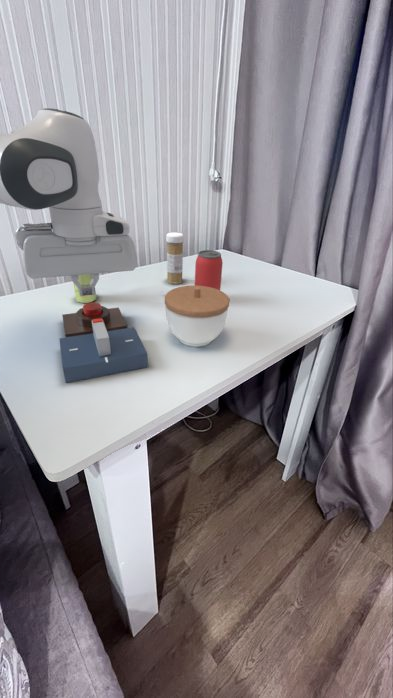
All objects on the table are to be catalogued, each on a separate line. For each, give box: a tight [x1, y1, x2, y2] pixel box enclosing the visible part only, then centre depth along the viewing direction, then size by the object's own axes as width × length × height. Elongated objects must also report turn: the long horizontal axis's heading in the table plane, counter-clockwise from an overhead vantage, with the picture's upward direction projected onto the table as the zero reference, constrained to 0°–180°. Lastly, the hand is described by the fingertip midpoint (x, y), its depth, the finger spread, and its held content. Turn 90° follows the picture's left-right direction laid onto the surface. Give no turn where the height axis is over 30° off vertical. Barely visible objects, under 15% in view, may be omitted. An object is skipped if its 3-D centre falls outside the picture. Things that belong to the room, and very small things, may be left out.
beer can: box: [194, 249, 224, 291], centre depth 82 cm, size 7×7×12 cm
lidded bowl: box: [164, 285, 230, 348], centre depth 66 cm, size 13×13×11 cm
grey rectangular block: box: [92, 318, 111, 356], centre depth 59 cm, size 7×2×4 cm, turn 22°
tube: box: [73, 274, 98, 304], centre depth 78 cm, size 6×5×20 cm
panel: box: [59, 326, 149, 384], centre depth 60 cm, size 14×11×3 cm
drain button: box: [82, 302, 102, 317], centre depth 68 cm, size 4×4×2 cm
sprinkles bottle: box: [165, 231, 184, 285], centre depth 91 cm, size 5×5×13 cm
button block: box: [61, 305, 128, 338], centre depth 69 cm, size 12×9×4 cm
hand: (87, 294), depth 66 cm, fingers closed
